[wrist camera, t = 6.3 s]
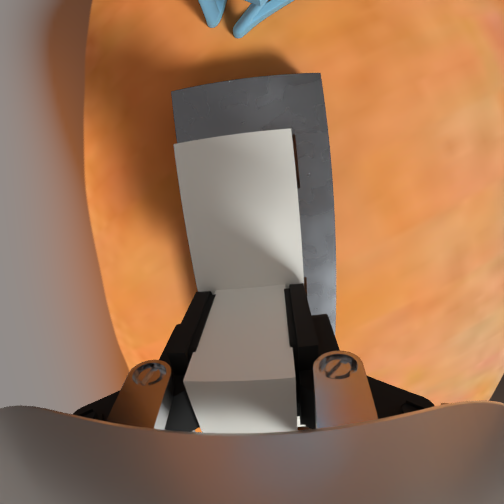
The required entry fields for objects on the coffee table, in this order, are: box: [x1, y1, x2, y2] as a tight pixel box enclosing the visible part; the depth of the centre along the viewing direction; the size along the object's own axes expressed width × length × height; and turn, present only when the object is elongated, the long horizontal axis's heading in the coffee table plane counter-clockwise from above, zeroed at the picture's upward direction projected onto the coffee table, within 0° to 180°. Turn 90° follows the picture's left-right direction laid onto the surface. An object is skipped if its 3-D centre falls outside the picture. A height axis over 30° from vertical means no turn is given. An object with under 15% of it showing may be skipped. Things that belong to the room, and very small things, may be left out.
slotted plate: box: [171, 73, 336, 335], centre depth 22 cm, size 22×10×4 cm, turn 7°
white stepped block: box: [174, 128, 305, 433], centre depth 12 cm, size 14×4×10 cm, turn 7°
